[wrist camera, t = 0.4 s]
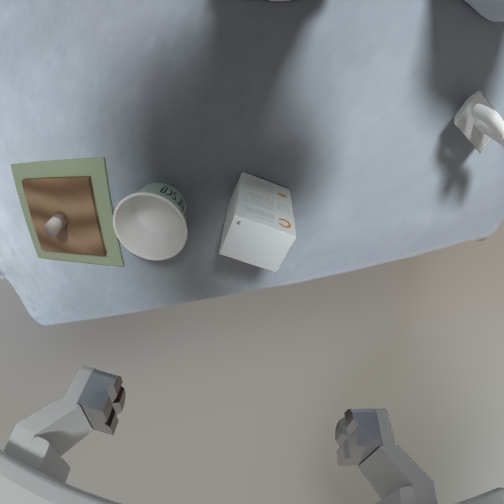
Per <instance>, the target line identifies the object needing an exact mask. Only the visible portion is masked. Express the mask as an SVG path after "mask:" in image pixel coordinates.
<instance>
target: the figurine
mask: <svg viewBox="0 0 504 504" xmlns="http://www.w3.org/2000/svg"><path fill="white" fill-rule="evenodd" d="M454 123H455V125H456V126H457V127H458V128H459V129H460V130H461V132H462V133H463V134H464V135H465V136H466V137H467V138H468V140H469V141H470V142H471V143H472V144H473V146H474V147H475V148H476V149H477V150H478V152H479V153H481V151H482V150H483V149H484V147H485V146H486V145H487V143H488V142H489V141H490V139H491V138H492V139H493V140H495V141H497V142H498V143H499V144H501V145H502V146H503V147H504V121H503V119H502V118H501V116H500V115H499V114H498V113H497V112H496V111H495V110H494V108H493V107H492V106H491V104H490V103H489V102H488V100H487V99H486V98H485V97H484V95H483V94H482V93H481V92H480V90H479V91H477V92H476V93H474V94H473V95H471V96H470V97H468V98H467V99H466V101H465V102H464V103H463V105H462V106H461V107H460V109H459V110H458V111H457V113H456V114H455V115H454Z"/></svg>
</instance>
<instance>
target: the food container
mask: <svg viewBox="0 0 504 504" xmlns="http://www.w3.org/2000/svg"><path fill="white" fill-rule="evenodd" d="M186 219H187V205H186V202H185V200H184V198H183V196H182V195H181V194H180V193H179V192H178V191H177V190H176V189H175V188H173V187H172V186H170V185H167V184H163V183H152V184H148V185H146V186H144V187H143V188H141V189H140V190H139V191H137V192H136V193H134V194H131V195H128V196H127V197H125V198H124V199H122V200H121V201H120V202H119V204H118V205H117V206H116V208H115V211H114V214H113V227H114V231H115V234H116V236H117V238H118V239H119V241H120V242H121V244H122V245H123V246H124V247H125V248H126V249H127V250H129V251H130V252H131V253H133V254H135V255H136V256H138V257H141V258H144V259H147V260H154V261H159V260H166V259H169V258H172V257H173V256H175V255H177V254H178V253H179V252H180V251H181V250H182V249H183V247H184V245H185V243H186V241H187V236H188V229H187V224H186Z"/></svg>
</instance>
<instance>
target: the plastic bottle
mask: <svg viewBox="0 0 504 504" xmlns="http://www.w3.org/2000/svg"><path fill="white" fill-rule="evenodd" d="M464 1H465V2H467V3H468V4H469V5H470V6H471V7H472V8H474V9H475V10H476V11H477V12H478V13H479V14H480V15H482V16H483V17H484V18H486V19H488V20H490V21H493V22H504V0H464Z"/></svg>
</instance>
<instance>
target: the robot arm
mask: <svg viewBox="0 0 504 504" xmlns="http://www.w3.org/2000/svg"><path fill="white" fill-rule="evenodd" d="M270 1H289V0H270ZM121 384H122V379H121V377H120V376H117V375H113V374H110V373H106V372H103V371H99V370H97V369H94V368H90V367H87V366H82V367H80V369H79V370H78V372H77V374H76V376H75V378H74V380H73V382H72V384H71V386H70V388H69V390H68V392H67V394H66V396H65V398H64V399H63V398H60V399H58V400H56V401H55V402H53V403H51V404H50V405H48V406H47V407H45V408H43V409H41V410H40V411H38V412H36V413H35V414H33V415H31V416H30V417H28V418H26V419H24V420H23V421H21V422H19V423H18V424H16V426H15V428H14V430H13V433H12V434H11V436H10V438H9V441H8V443H7V445H6V447H5V449H4V451H2V450H0V504H120V503H117V502H114V501H111V500H108V499H105V498H102V497H99V496H97V495H94V494H91V493H88V492H85V491H83V490H80V489H78V488H76V487H73V486H71V485H69V484H66V480H67V477H68V474H69V471H70V467H69V465H68V464H67V463H66V462H65V460H64V459H63V458H62V457H61V456H62V455H63V454H64V453H65V452H67V451H68V450H69V449H70V448H72V447H73V446H74V445H75V444H77V443H78V442H79V441H80V440H82V439H83V438H84V437H85V436H87V435H88V434H89V433H90V432H92V431H93V429H94V430H98V431H101V432H104V433H108V434H111V435H114V432H115V429H116V427H117V424H118V418H117V416H116V415H117V414H119V413H120V412H122V410H123V407H124V403H125V390H124V388H123V387H122V386H121ZM335 438H336V439H335V440H336V442H337V443H338V444H339V446H340V447H339V449H338V450H337V460H338V466H358V467H359V469H360V470H361V472H362V473H363V474H364V476H365V477H366V479H367V480H368V481H369V483H370V484H371V486H372V487H373V488H374V490H375V491H376V493H377V494H378V495H379V497H380V498H381V500H380V501H379V502H377V503H375V504H438V503H437V499H436V493H435V488H434V483H433V480H432V479H431V478H430V477H429V476H428V475H427V474H426V473H425V472H424V471H423V470H422V469H421V468H420V467H419V466H418V465H417V464H416V463H415V461H413V459H412V458H411V457H409V455H408V454H407V453H406V452H405V451H404V450H403V449H402V448H401V447H400V446H399V445H395V440H394V436H393V431H392V427H391V423H390V419H389V414H388V411H387V410H386V409H348V410H347V411H346V412H345V417H344V418H342V419H340V420H339V422H338V423H337V426H336V430H335ZM455 504H504V488H496V489H493V490H491V491H488V492H486V493H483V494H481V495H478V496H475V497H473V498H470V499H467V500H464V501H461V502H458V503H455Z"/></svg>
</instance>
